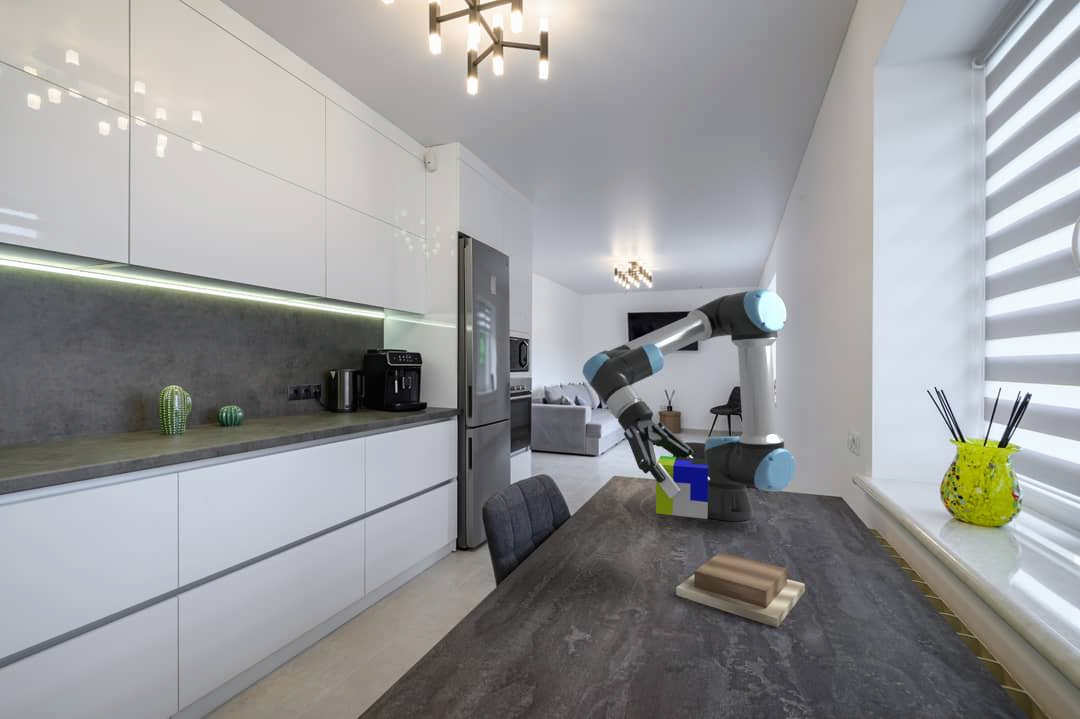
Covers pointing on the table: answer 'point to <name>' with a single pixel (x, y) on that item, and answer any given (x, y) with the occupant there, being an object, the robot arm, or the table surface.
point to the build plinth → (745, 607)
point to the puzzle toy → (684, 487)
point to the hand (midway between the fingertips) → (691, 488)
